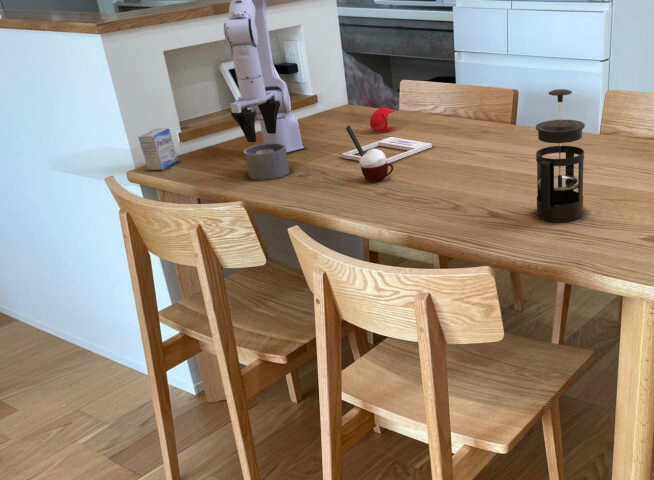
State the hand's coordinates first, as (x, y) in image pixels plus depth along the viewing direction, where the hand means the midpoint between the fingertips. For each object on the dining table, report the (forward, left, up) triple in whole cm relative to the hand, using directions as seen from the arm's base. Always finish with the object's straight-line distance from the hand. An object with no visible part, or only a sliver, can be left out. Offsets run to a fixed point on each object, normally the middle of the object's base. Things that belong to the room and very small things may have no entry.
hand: (262, 137), depth 179 cm
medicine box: (+15, -30, -9) cm, 35 cm away
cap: (-42, -11, -9) cm, 44 cm away
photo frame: (-29, +9, -9) cm, 32 cm away
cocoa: (-14, +25, -9) cm, 30 cm away
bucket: (0, 0, -9) cm, 9 cm away
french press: (-24, +74, -9) cm, 78 cm away
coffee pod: (0, 0, -8) cm, 8 cm away
